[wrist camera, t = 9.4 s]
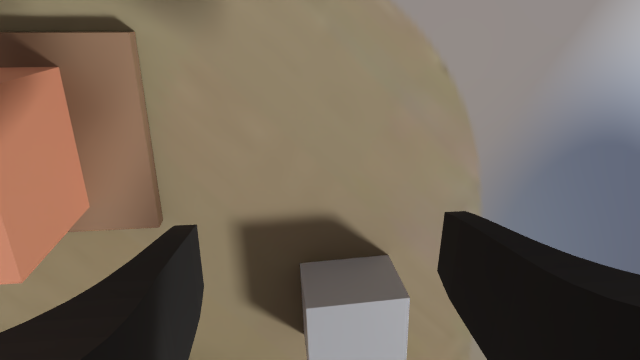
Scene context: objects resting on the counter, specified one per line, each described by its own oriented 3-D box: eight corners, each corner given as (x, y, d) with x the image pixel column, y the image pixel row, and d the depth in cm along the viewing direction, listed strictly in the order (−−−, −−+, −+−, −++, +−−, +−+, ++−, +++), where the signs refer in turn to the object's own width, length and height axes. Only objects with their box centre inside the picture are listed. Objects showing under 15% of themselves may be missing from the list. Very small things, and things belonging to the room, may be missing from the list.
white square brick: (304, 332, 25) (310, 387, 22) (299, 261, 24) (306, 308, 20) (385, 323, 26) (405, 375, 22) (387, 253, 24) (409, 297, 20)
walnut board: (-53, 230, 20) (-65, 238, 20) (-126, 31, 17) (-144, 33, 16) (162, 219, 21) (159, 227, 21) (134, 31, 18) (129, 32, 17)
